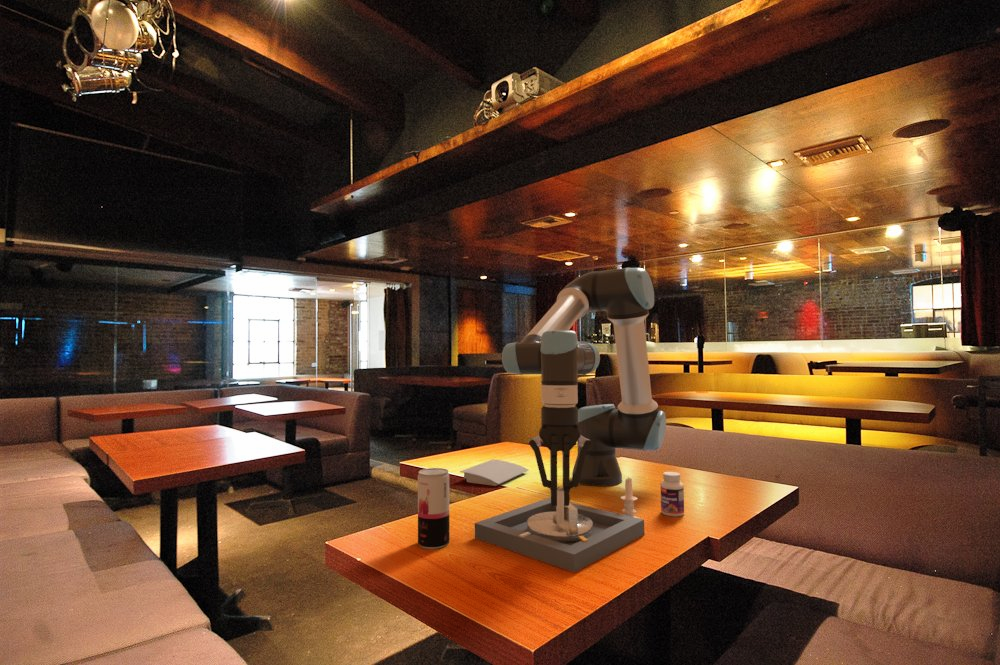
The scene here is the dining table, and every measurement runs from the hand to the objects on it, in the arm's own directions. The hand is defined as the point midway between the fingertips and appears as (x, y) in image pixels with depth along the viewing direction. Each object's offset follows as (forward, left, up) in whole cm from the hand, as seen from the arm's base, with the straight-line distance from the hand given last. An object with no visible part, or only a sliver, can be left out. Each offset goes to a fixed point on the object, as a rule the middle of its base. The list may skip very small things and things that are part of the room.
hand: (560, 521), depth 105 cm
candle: (-24, +2, -5) cm, 25 cm away
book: (-34, -52, -6) cm, 62 cm away
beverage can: (+16, -21, -5) cm, 27 cm away
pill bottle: (-36, +7, -5) cm, 37 cm away
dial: (-5, -3, -4) cm, 7 cm away
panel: (-5, -4, -5) cm, 8 cm away
